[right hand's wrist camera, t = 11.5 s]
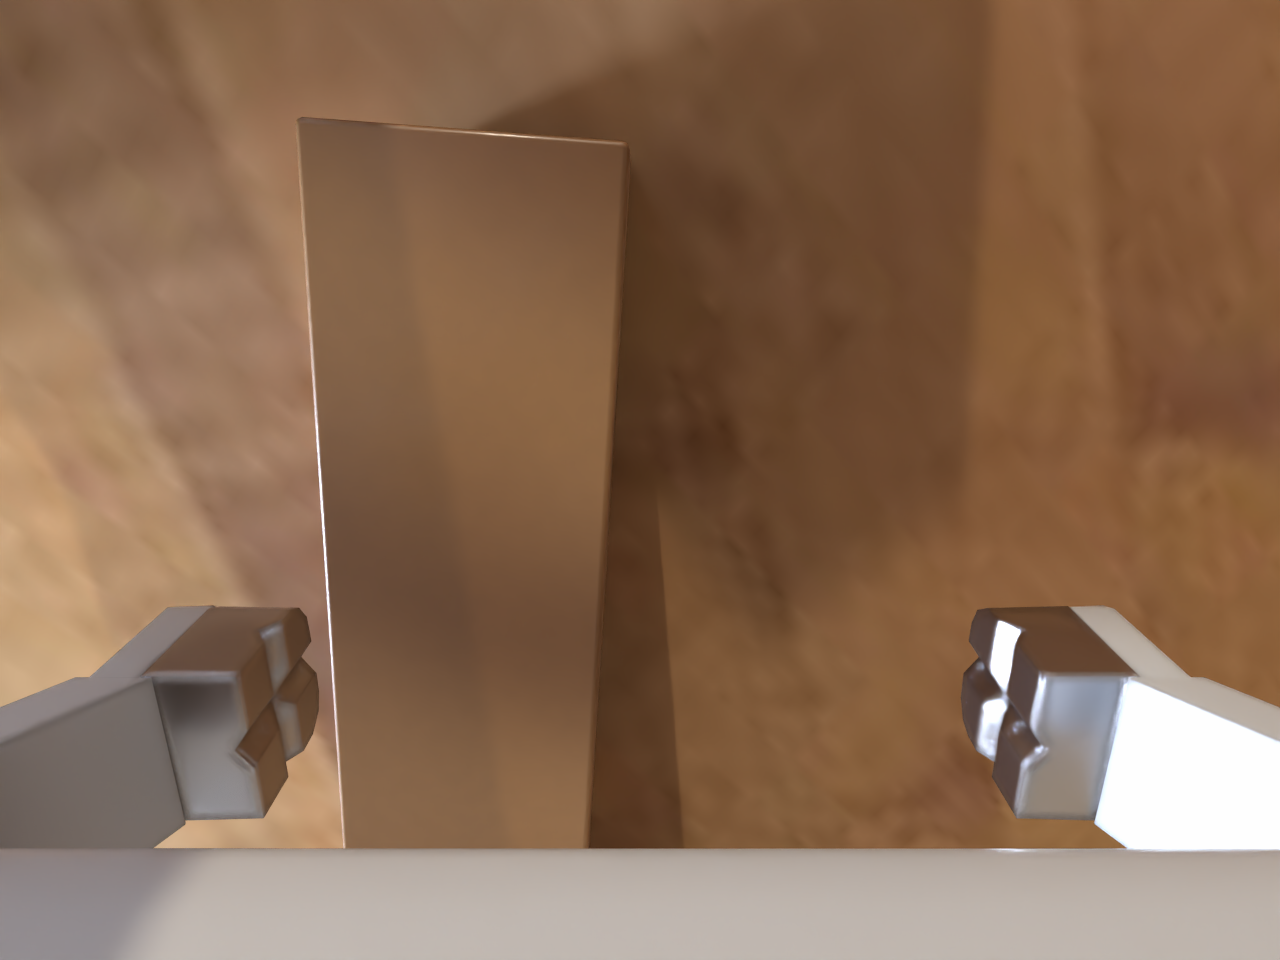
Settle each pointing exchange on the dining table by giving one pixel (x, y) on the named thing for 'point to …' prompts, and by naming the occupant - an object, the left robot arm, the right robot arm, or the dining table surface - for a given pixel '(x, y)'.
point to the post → (464, 469)
